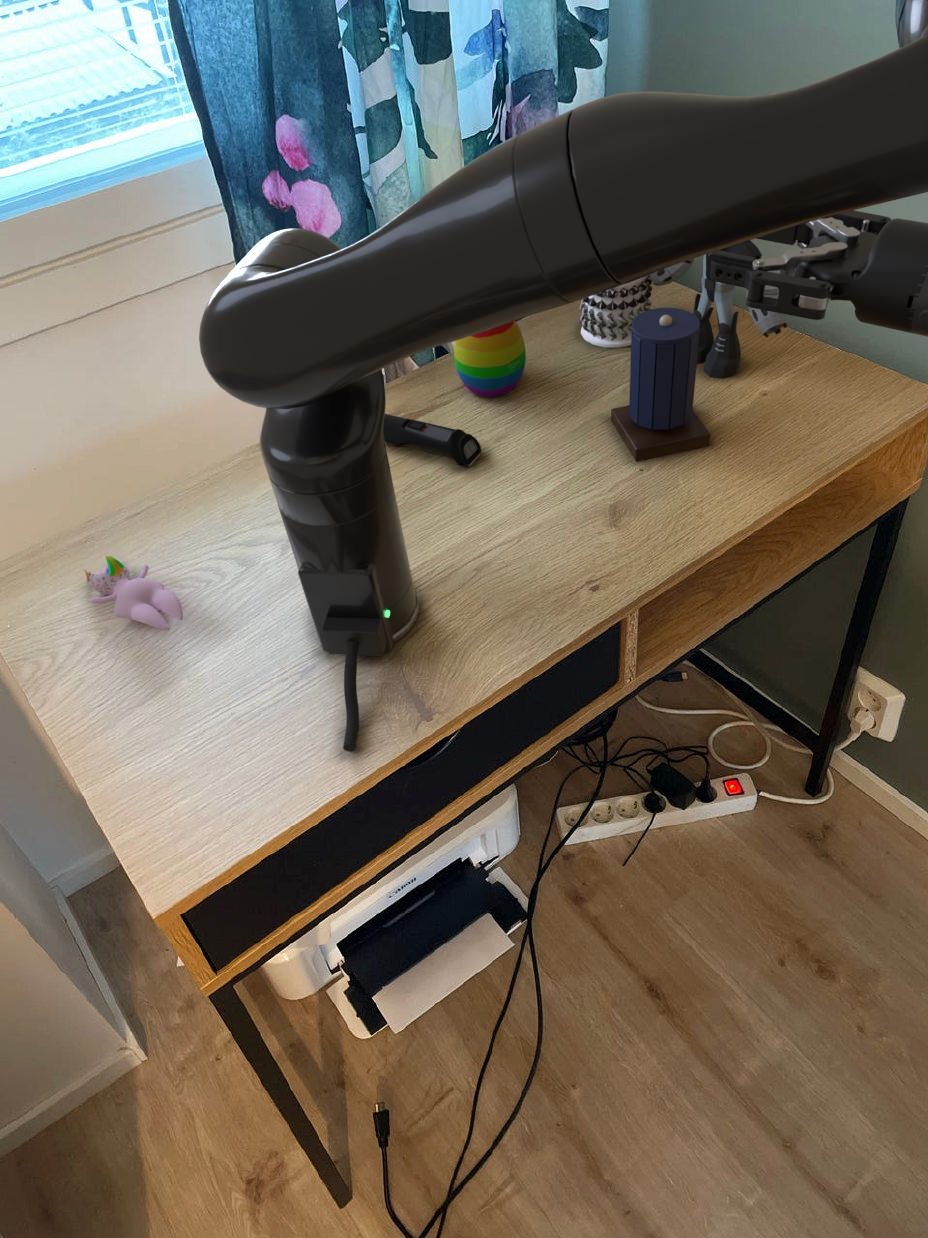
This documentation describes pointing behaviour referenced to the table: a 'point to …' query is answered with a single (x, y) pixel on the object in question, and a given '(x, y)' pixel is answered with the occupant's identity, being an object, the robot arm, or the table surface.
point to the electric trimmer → (432, 439)
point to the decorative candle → (614, 313)
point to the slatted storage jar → (663, 367)
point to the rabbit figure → (135, 595)
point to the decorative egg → (491, 360)
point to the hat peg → (658, 436)
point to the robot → (721, 315)
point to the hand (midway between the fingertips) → (731, 242)
